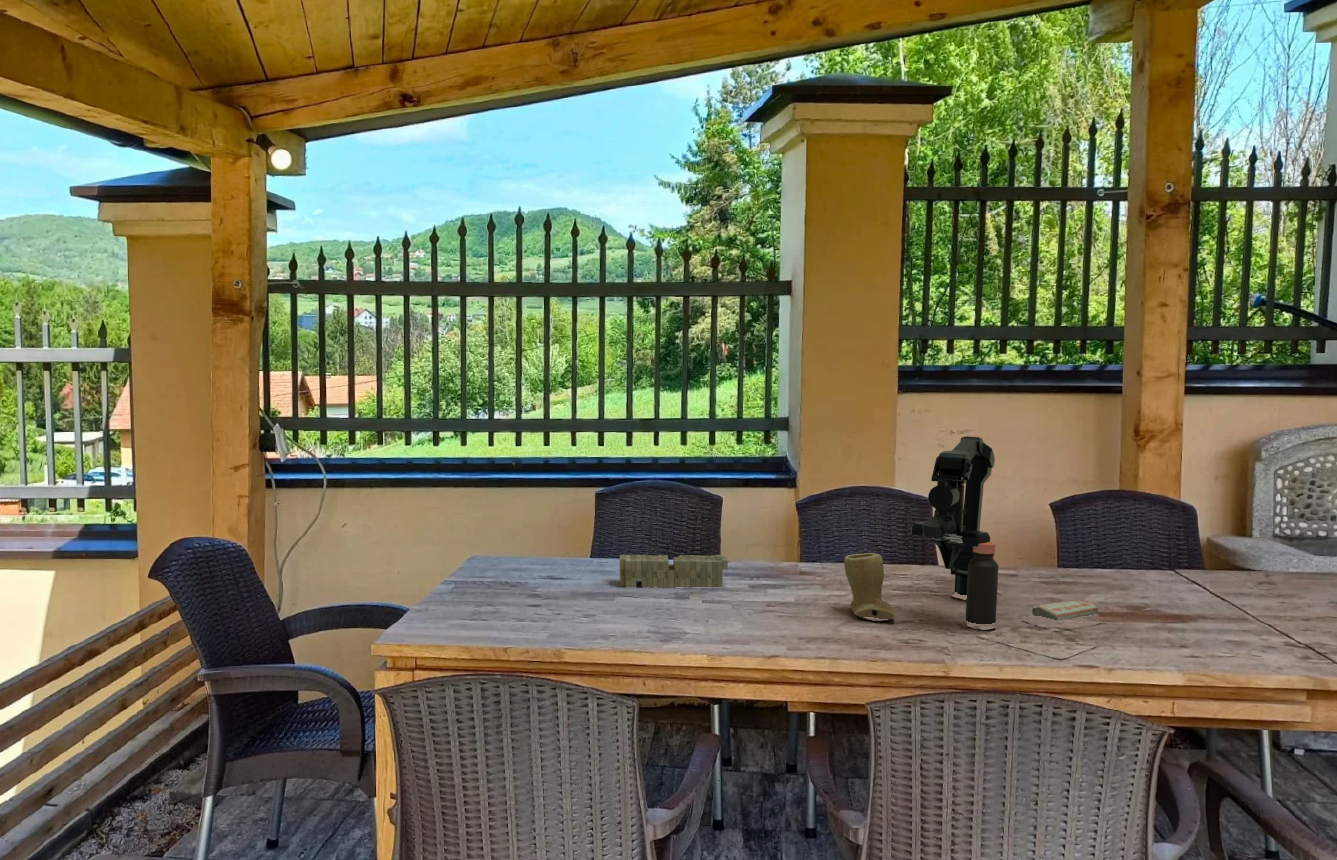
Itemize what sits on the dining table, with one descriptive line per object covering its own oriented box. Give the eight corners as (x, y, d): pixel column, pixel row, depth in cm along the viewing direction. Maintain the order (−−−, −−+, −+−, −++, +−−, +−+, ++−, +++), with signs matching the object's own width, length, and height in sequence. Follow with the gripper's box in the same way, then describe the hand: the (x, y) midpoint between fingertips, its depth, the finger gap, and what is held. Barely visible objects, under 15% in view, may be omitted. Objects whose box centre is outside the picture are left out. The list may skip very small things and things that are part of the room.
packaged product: (1072, 596, 228) (1107, 605, 219) (1070, 615, 228) (1106, 625, 220) (1021, 603, 220) (1056, 613, 211) (1020, 623, 220) (1054, 634, 211)
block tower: (619, 592, 243) (728, 589, 245) (619, 560, 243) (728, 558, 244) (620, 584, 251) (725, 582, 253) (619, 554, 251) (725, 552, 252)
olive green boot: (840, 605, 231) (842, 547, 229) (888, 608, 229) (891, 549, 228) (845, 622, 216) (847, 559, 214) (896, 625, 214) (899, 562, 213)
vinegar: (997, 632, 210) (1001, 546, 209) (966, 629, 211) (971, 544, 210) (993, 624, 217) (997, 541, 215) (963, 621, 218) (967, 539, 217)
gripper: (898, 502, 222) (895, 565, 223) (965, 513, 207) (962, 580, 208) (926, 498, 228) (923, 560, 230) (993, 509, 214) (989, 574, 215)
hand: (948, 568), depth 220 cm, fingers closed
